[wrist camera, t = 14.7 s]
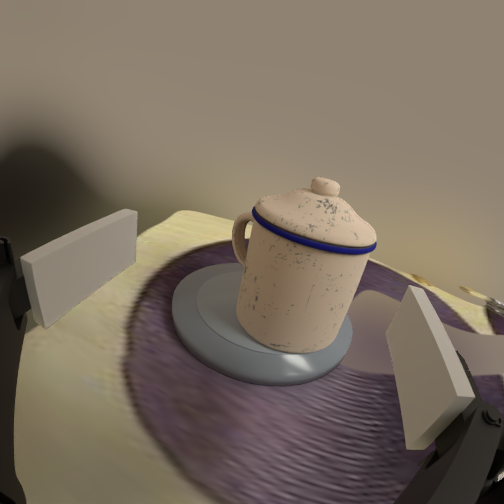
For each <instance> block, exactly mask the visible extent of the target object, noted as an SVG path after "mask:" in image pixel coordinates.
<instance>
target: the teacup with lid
mask: <svg viewBox="0 0 504 504" xmlns="http://www.w3.org/2000/svg"><path fill="white" fill-rule="evenodd" d="M339 191H340V186H339V184H338V183H337V182H335V181H332V180H329V179H326V178H322V177H315V178H314V179H313V180H312V182H311V189H297V190H294V191H291V192H289V193H286V194H283V195H270V196H265V197H262V198H261V199H259V200H258V201H257V203H256V204H255V206H254V207H253V209H252V212H247V213H243V214H241V215H240V216H239V217H238V218H237V219H236V221H235V223H234V225H233V230H232V244H233V249H234V252H235V255H236V257H237V259H238V261H239V262H240V264H241V265H242V266H243V267H244V270H243V275H242V280H241V285H240V290H239V295H238V300H237V305H236V314H237V318H238V320H239V322H240V324H241V326H242V327H243V328H244V330H245V331H246V332H247V333H248V334H249V335H250V336H252V337H253V338H254V339H256V340H257V341H259V342H260V343H262V344H264V345H266V346H268V347H270V348H273V349H276V350H279V351H283V352H288V353H298V354H302V353H312V352H316V351H319V350H322V349H324V348H326V347H327V346H329V345H330V344H331V343H332V342H333V341H334V339H335V338H336V336H337V334H338V332H339V329H340V327H341V325H342V323H343V320H344V318H345V316H346V313H347V311H348V308H349V306H350V304H351V301H352V299H353V297H354V294H355V292H356V289H357V287H358V284H359V281H360V279H361V276H362V274H363V271H364V268H365V266H366V263H367V260H368V257H369V255H370V252H371V251H373V250H374V249H375V248H376V233H375V231H374V229H373V227H372V226H371V225H370V224H368V223H367V222H366V221H364V220H363V219H361V218H360V217H359V216H358V215H357V214H356V213H355V211H354V210H353V209H352V208H351V206H350V205H349V204H348V203H347V202H346V201H344V200H343V199H341V198H339V197H337V195H338V194H339ZM249 221H252V222H253V226H252V231H251V236H250V241H249V246H248V251H247V249H246V245H245V228H246V225H247V223H248V222H249Z"/></svg>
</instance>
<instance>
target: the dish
mask: <svg viewBox="0 0 504 504" xmlns="http://www.w3.org/2000/svg"><path fill="white" fill-rule="evenodd" d="M243 270H244V267H243V266H242V265H241V264H240V263H224V264H217V265H212V266H208V267H205V268H201V269H199V270H197V271H194V272H192V273H191V274H189V275H188V276H186V277H185V278H184V279H183V280H182V281H181V282H180V283H179V284H178V286H177V287H176V289H175V291H174V294H173V298H172V322H173V326H174V329H175V331H176V333H177V335H178V337H179V339H180V340H181V342H182V343H183V344H184V346H185V347H186V348H187V349H188V350H189V351H190V352H191V353H192V354H193V355H194V356H195V357H196V358H198V359H199V360H200V361H201V362H203V363H204V364H206V365H207V366H209V367H211V368H212V369H214V370H216V371H218V372H220V373H222V374H224V375H226V376H229V377H232V378H234V379H237V380H240V381H244V382H248V383H252V384H258V385H266V386H292V385H300V384H304V383H308V382H312V381H314V380H317V379H319V378H322V377H323V376H325V375H327V374H328V373H330V372H331V371H332V370H334V369H335V368H336V367H337V366H338V365H339V363H340V362H341V361H342V359H343V358H344V356H345V354H346V352H347V350H348V347H349V346H350V343H351V339H352V324H351V321H350V318H349V316H348V314H347V313H346V316H345V318H344V320H343V323H342V325H341V327H340V329H339V332H338V334H337V336H336V338H335V339H334V341H333V342H332V343H331V344H330V345H329V346H327V347H326V348H324V349H322V350H319V351H316V352H312V353H302V354H298V353H288V352H283V351H279V350H276V349H273V348H270V347H268V346H266V345H264V344H262V343H260V342H259V341H257V340H256V339H254V338H253V337H252V336H250V335H249V334H248V333H247V332H246V331H245V330H244V328H243V327H242V326H241V324H240V322H239V320H238V318H237V314H236V305H237V300H238V295H239V290H240V285H241V280H242V275H243Z"/></svg>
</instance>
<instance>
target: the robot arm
mask: <svg viewBox="0 0 504 504" xmlns="http://www.w3.org/2000/svg"><path fill="white" fill-rule="evenodd" d="M136 233H137V211H133V210H129V209H123V210H121V211H118V212H116V213H114V214H111V215H109V216H107V217H104V218H102V219H99V220H97V221H95V222H92V223H90V224H88V225H86V226H83V227H81V228H79V229H77V230H75V231H73V232H70V233H68V234H66V235H64V236H62V237H60V238H58V239H55V240H53V241H52V242H49V243H47V244H45V245H43V246H41V247H39V248H37V249H35V250H33V251H31V252H29V253H27V254H26V255H24V256H22V257H21V258H20V259H18V260H17V261H15V262H14V257H13V251H12V244H11V240H10V238H8V237H3V236H0V504H26V498H25V494H24V491H23V488H22V486H21V484H20V482H19V481H18V479H17V476H16V473H15V466H14V409H15V395H16V385H17V376H18V369H19V362H20V356H21V350H22V344H23V339H24V334H25V330H26V325H27V314H26V312H27V311H28V310H30V309H31V310H32V314H33V317H34V321H35V322H37V323H38V324H39V325H41V326H42V327H44V328H45V329H47V328H48V327H49V326H51V325H52V324H53V323H54V322H56V321H57V320H58V319H60V318H61V317H62V316H63V315H65V314H66V313H67V312H68V311H70V310H71V309H72V308H74V307H75V306H76V305H78V304H79V303H80V302H81V301H83V300H84V299H85V298H87V297H88V296H89V295H91V294H92V293H93V292H95V291H96V290H97V289H99V288H100V287H101V286H103V285H104V284H106V283H107V282H108V281H110V280H111V279H112V278H114V277H115V276H117V275H118V274H119V273H121V272H122V271H123V270H125V269H126V268H128V267H129V266H131V265H132V264H133V263H135V262H136ZM386 338H387V342H388V346H389V351H390V354H391V360H392V364H393V368H394V374H395V379H396V384H397V389H398V395H399V400H400V406H401V412H402V419H403V426H404V433H405V441H406V449H412V450H424V449H426V448H427V447H428V446H429V445H430V444H431V443H432V442H433V441H434V440H435V442H436V447H437V448H436V449H435V450H434V451H433V452H431V453H430V454H429V455H428V456H427V457H426V458H424V459H423V460H422V461H421V462H420V463H419V464H418V466H420V465H422V464H423V463H424V464H423V466H422V467H421V468H420V470H419V471H418V473H417V474H416V476H415V477H414V478H413V480H412V481H411V482H410V484H409V485H408V486H407V488H406V489H405V490H404V491H403V493H402V494H401V495H400V496H399V498H398V499H397V500H396V501H395V502H394V504H504V478H502V479H501V480H500V481H498V475H499V474H501V473H502V472H503V471H504V423H503V419H502V416H501V414H500V412H499V411H498V410H497V409H496V408H495V407H494V406H492V405H490V404H488V403H483V402H482V399H481V397H480V394H479V392H478V389H477V387H476V384H475V382H474V380H473V379H472V375H471V373H470V371H468V370H469V369H468V366H467V364H466V362H465V360H464V359H463V357H462V356H461V355H460V354H459V353H458V351H456V350H455V349H454V347H453V345H452V343H451V341H450V339H449V337H448V335H447V333H446V331H445V329H444V327H443V325H442V323H441V321H440V319H439V317H438V316H437V314H436V312H435V310H434V308H433V306H432V305H431V303H430V301H429V299H428V297H427V296H426V294H425V292H424V290H423V289H421V288H418V287H414V286H411V285H409V286H408V288H407V291H406V293H405V295H404V297H403V299H402V301H401V304H400V306H399V308H398V310H397V312H396V314H395V316H394V318H393V320H392V322H391V324H390V326H389V328H388V330H387V332H386Z"/></svg>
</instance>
